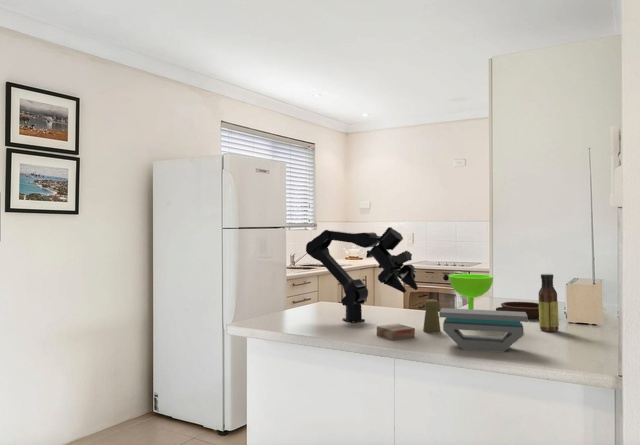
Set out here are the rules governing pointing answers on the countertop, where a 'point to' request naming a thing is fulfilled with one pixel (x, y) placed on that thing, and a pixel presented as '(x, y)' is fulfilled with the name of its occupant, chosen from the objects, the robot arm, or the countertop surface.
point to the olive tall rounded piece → (431, 317)
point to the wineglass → (471, 285)
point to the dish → (521, 308)
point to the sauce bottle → (548, 305)
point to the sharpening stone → (483, 328)
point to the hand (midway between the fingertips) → (411, 290)
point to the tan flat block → (395, 331)
